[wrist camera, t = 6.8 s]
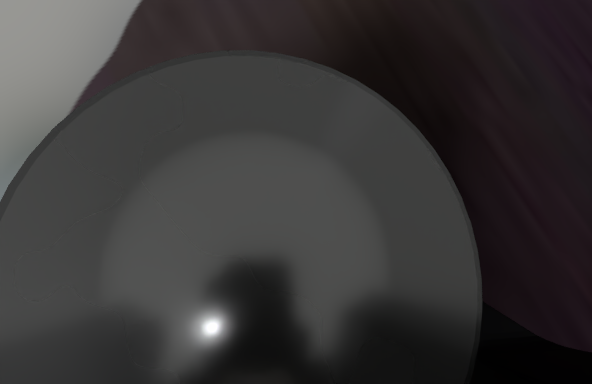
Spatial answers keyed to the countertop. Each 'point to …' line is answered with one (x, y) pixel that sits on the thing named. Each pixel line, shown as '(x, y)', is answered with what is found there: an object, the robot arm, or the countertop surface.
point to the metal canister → (237, 236)
